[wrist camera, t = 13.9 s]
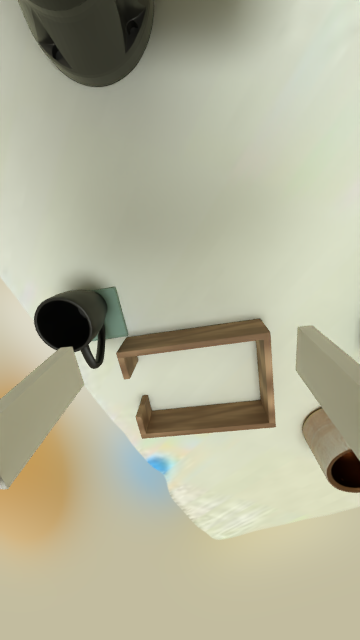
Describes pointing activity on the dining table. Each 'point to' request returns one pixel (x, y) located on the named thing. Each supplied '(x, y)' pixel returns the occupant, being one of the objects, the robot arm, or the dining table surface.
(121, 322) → the mat
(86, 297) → the mug
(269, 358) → the wooden tray frame
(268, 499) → the dining table surface
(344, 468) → the planter
